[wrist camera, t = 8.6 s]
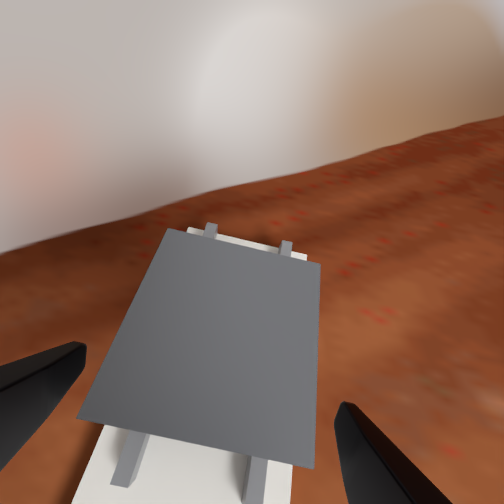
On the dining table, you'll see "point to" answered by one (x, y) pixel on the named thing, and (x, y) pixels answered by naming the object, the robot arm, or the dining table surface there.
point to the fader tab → (217, 352)
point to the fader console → (182, 457)
